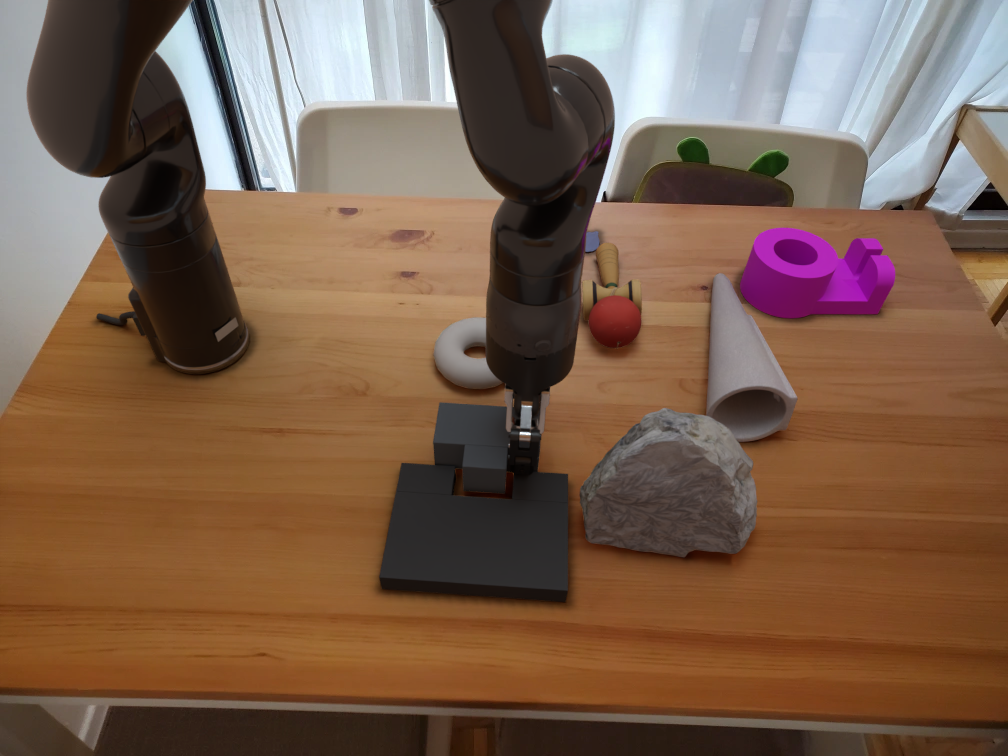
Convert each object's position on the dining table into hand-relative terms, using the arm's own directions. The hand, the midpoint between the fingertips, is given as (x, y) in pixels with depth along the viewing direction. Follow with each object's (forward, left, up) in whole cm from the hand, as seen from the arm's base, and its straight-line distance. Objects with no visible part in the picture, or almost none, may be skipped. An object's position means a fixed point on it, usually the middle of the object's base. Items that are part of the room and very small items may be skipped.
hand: (523, 447), depth 70 cm
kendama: (+9, +24, -2) cm, 26 cm away
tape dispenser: (+34, +29, -2) cm, 45 cm away
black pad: (-4, -9, -2) cm, 10 cm away
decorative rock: (+13, -7, -2) cm, 15 cm away
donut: (-6, +13, -2) cm, 15 cm away
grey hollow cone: (+21, +17, -2) cm, 28 cm away
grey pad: (-3, -1, -1) cm, 4 cm away
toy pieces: (+3, +37, -2) cm, 38 cm away
